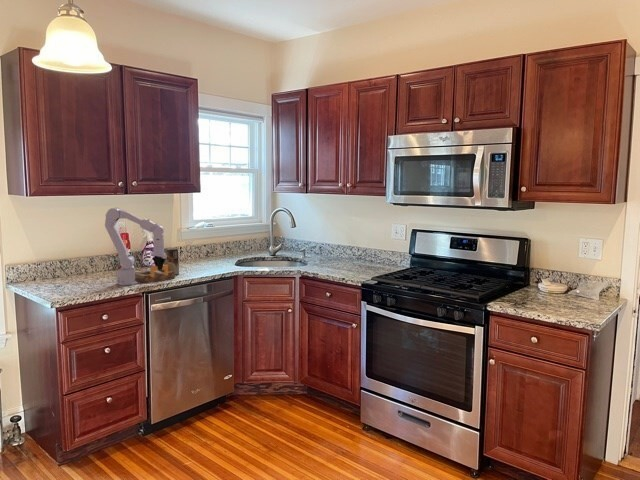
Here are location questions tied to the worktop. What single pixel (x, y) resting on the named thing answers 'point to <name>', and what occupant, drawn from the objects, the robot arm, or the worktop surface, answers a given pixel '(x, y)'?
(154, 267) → the orange arch block
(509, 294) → the worktop surface
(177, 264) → the coffee box
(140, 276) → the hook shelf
